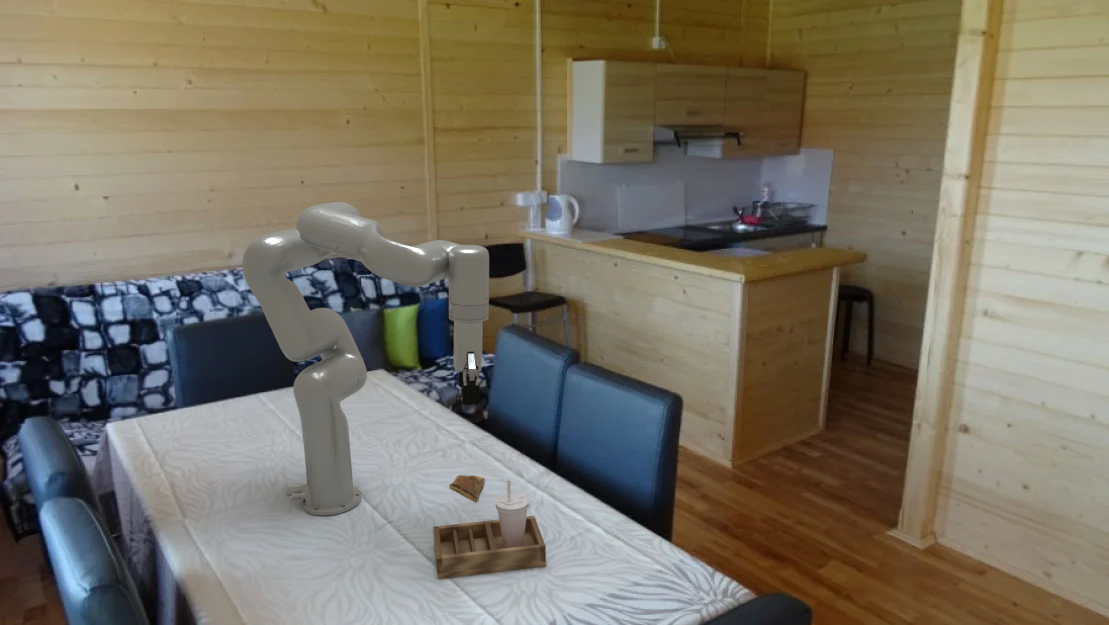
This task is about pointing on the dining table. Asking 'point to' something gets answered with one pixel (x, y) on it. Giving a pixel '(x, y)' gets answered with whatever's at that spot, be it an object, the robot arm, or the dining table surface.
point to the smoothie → (512, 518)
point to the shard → (468, 486)
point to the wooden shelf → (485, 549)
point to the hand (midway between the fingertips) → (468, 395)
